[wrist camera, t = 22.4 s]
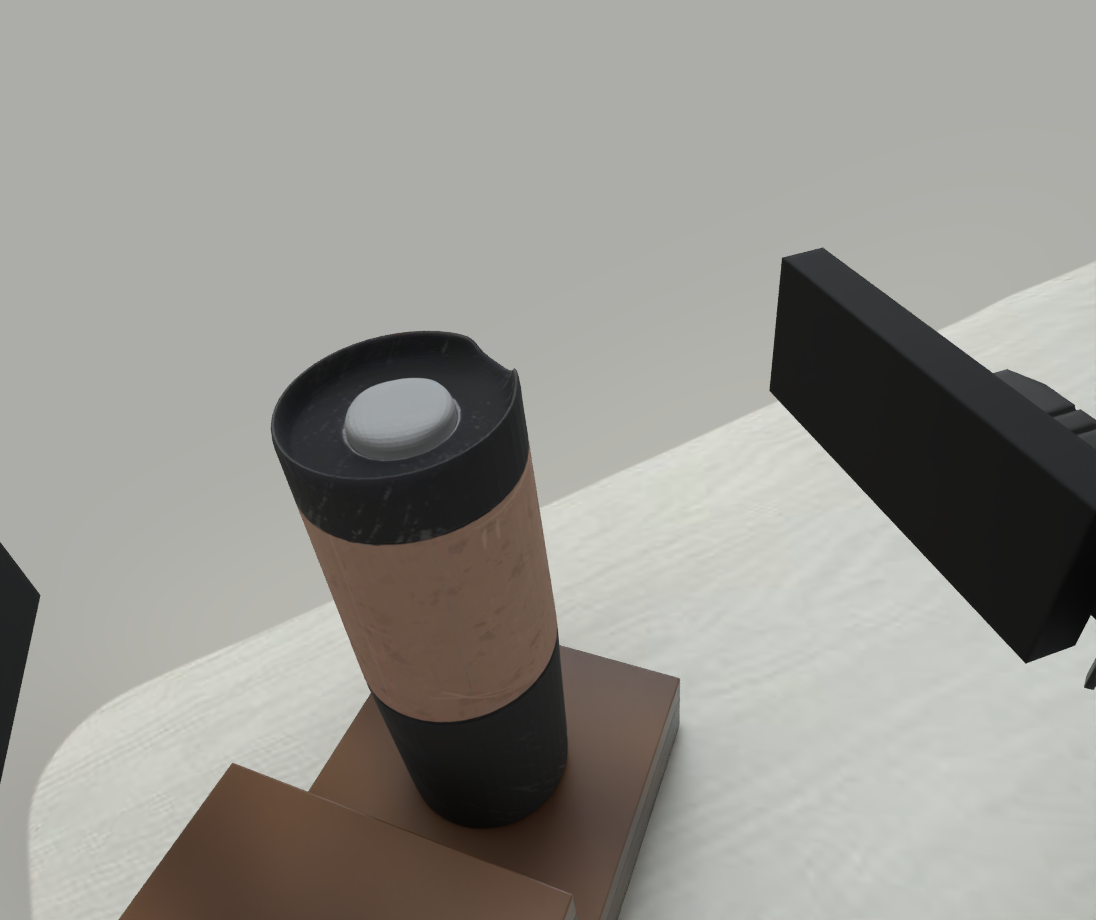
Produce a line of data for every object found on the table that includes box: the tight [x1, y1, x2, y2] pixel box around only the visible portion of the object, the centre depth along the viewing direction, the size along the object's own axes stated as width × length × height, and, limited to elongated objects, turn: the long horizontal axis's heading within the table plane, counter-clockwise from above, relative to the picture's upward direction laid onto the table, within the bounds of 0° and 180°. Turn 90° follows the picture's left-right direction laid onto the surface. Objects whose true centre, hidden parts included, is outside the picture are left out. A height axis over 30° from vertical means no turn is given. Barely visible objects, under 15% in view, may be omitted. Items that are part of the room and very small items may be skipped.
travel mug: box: [271, 331, 568, 828], centre depth 31 cm, size 8×8×20 cm
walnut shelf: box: [119, 645, 680, 920], centre depth 34 cm, size 22×14×10 cm, turn 158°
